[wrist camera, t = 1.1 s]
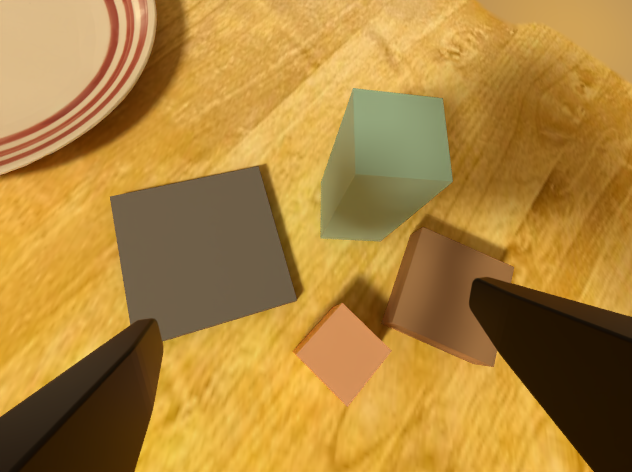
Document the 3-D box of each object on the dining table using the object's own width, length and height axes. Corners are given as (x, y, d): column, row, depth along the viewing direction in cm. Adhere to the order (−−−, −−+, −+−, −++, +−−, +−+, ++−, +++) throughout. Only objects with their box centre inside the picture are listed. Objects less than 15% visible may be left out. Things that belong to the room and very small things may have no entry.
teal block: (380, 241, 24) (452, 181, 15) (320, 238, 23) (355, 174, 14) (377, 186, 25) (442, 98, 16) (321, 181, 25) (353, 88, 15)
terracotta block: (342, 302, 19) (332, 306, 22) (296, 354, 18) (292, 351, 21) (391, 351, 19) (375, 348, 22) (347, 406, 18) (336, 396, 21)
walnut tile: (490, 273, 25) (514, 267, 23) (470, 363, 23) (493, 366, 20) (408, 237, 25) (422, 226, 23) (379, 323, 23) (392, 322, 20)
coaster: (296, 301, 22) (297, 299, 21) (139, 348, 20) (134, 349, 19) (258, 171, 24) (258, 166, 24) (115, 201, 22) (110, 196, 21)
